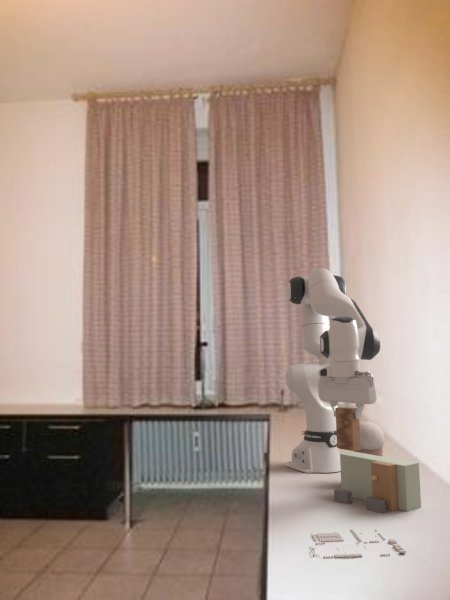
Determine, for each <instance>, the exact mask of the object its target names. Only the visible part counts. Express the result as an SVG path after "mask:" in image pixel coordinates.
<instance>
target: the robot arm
mask: <svg viewBox="0 0 450 600" xmlns="http://www.w3.org/2000/svg"><path fill="white" fill-rule="evenodd" d="M286 286H287V287H286V295H287V298H288V300H289V301H290V302H291V303H292V304H294V305H302V306H301V312H300V332H301V333H300V334H301V343H302V344H301V345H302V348H303V349H304V350H305V352H307V353H308V354H311V355H312V356H314V357H316V358H317V359H318V362H299V363H296V364H291V365H290V366H289V367H287V369H286V371H285V375H284V381H285V384H286V387H287V388H288V390H290V391H291V392H292V393H294V394H295V395H296V396H297V397H298V398H299V400H300V401H301V403H302V405H303V408H304V411H305V421H306V430H305V431H303V430H302V433H301V435H302V436H303V435H304V436H303V440H302V441H301V442H300V443H299V444H298V445H296V446H295V447H294V448H293V449H292V451H291V460H290V461H287V462H286V463H285V467H287V468H291V469H292V470H293V469H294V470H295V471H296V470H297V471H298V472H299V471H300V472H302V473H305V474H307V473H309V474H310V473H315V474H316V473H319V474H320V473H322V474H323V473H326V474H329V473H337V472H341V465H340V454H341V453H340V450H341V449H338V448H337V433H336V409H335V408H337V407H338V405H339V403H348V404H355V408H357V410H356V413H353V414H354V419H359V420H362V412H363V411H364V408H365V405H373V404H375V403H376V402H377V392H376V391H377V390H376V386H375V382H374V381H375V380H374V376H373V374H372V373H370V371H361V361H362V360H364V361H371V360H373V359H374V358H375V357H376V356H377V355H378V354H379V353H380V350H381V340H380V337H379V334H378V333H377V331H376V330H375V329H374V328H373V327H372V326H371V324H370V322H369V321H368V320H367V318H366V316H365V315H364V314H363V312H362V310H361V308H360V307H359V306H358V304H357V302H356V301H355V300H354V299H352V298H350V297H348V296H347V295H346V292H347V286H346V283H345V280H344V278H343V277H342V276H340V275H336V274H335V275H334V274H333V273H332V272H331V271H330V270H329V269H326V268H323V267H321V268H320V267H318V268H316V269H313V270H312V271H311V272H310V273H309V275H305V276H300V275H299V276H294V277H291V278H290V280H288V284H287V285H286ZM330 318H331V319H330Z"/></svg>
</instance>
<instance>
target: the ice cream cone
mask: <svg viewBox="0 0 450 600" xmlns="http://www.w3.org/2000/svg"><path fill="white" fill-rule="evenodd" d="M359 424H360V446H361V450H357V451H352V452H359V453H365V454H371V455H376V456H382V457H384V456H383V455H384V454H383V447H384V445H385V434H384V431H383V430H382V429H381V427H380V426H379V425H378V424H377V423H374V422H372V421H360V422H359Z"/></svg>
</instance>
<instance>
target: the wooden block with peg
mask: <svg viewBox="0 0 450 600" xmlns="http://www.w3.org/2000/svg"><path fill="white" fill-rule="evenodd" d="M335 409H336V433H337V448H338V449H339V450H345V451H349V452H353V451H357V450H361V446H360V424H359V423H360V419H354V414H353V413H356V410H357V407H349V406H347V407H346V406H339V407H337V408H335Z"/></svg>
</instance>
